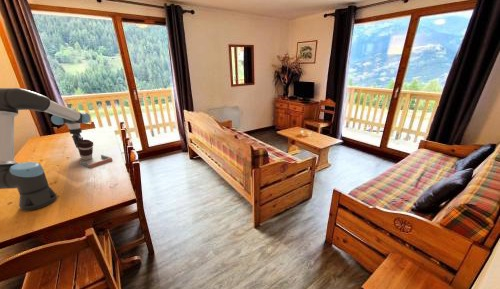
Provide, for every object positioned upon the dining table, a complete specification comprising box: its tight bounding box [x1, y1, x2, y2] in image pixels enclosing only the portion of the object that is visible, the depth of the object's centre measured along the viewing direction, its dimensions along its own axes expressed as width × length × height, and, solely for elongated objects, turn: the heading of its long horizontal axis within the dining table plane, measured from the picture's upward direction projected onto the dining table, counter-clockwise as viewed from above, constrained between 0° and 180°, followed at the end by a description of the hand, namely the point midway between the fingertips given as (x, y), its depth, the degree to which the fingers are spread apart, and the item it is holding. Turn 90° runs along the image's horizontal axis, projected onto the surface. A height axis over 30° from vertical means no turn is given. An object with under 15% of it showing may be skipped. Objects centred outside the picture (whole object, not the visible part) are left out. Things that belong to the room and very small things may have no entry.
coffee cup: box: [77, 139, 94, 161], centre depth 166 cm, size 10×10×15 cm
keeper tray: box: [79, 154, 113, 169], centre depth 162 cm, size 16×14×2 cm
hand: (82, 156), depth 172 cm, fingers closed
